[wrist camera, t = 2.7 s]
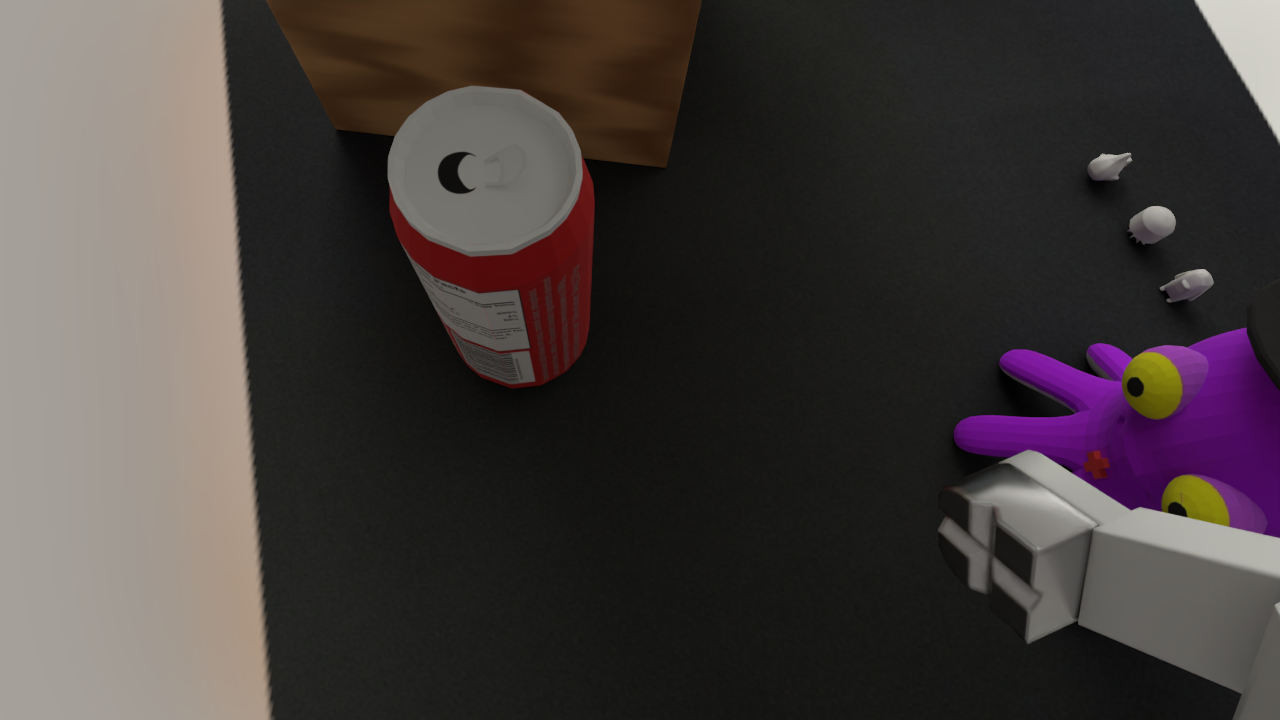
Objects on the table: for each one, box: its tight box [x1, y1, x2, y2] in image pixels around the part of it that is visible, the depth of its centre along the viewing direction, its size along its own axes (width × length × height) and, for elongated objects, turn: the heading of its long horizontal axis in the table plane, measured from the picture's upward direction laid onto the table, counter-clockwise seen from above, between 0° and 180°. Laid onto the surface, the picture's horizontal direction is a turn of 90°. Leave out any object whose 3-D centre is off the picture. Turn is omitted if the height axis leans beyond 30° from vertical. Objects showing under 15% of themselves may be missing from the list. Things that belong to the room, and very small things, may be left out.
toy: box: [954, 278, 1280, 538], centre depth 21 cm, size 11×11×15 cm
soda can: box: [388, 86, 595, 388], centre depth 23 cm, size 6×6×12 cm
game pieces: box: [1087, 153, 1213, 303], centre depth 32 cm, size 8×2×2 cm, turn 18°
